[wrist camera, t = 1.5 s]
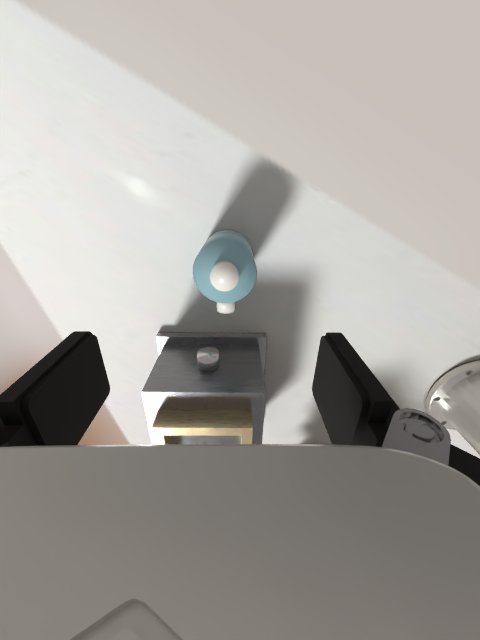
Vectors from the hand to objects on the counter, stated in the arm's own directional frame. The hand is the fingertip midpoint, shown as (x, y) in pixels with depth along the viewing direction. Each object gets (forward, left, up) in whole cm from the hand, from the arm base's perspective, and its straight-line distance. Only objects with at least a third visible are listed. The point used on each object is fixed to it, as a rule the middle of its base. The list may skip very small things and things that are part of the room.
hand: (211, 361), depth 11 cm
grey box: (+2, +18, -21) cm, 27 cm away
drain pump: (0, 0, -21) cm, 21 cm away
